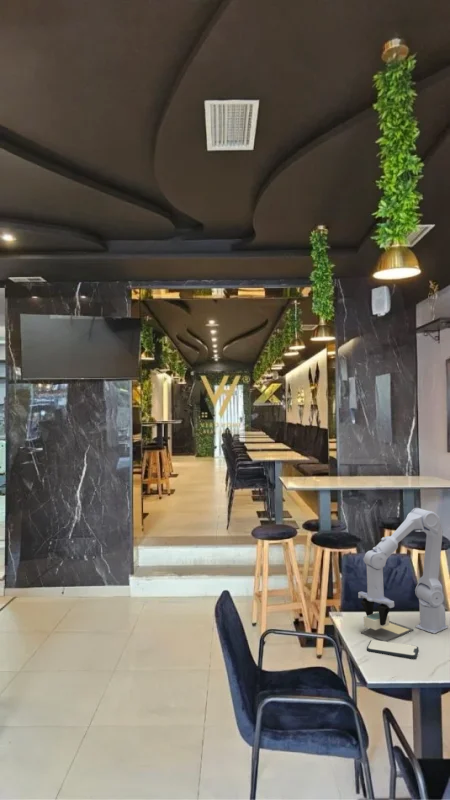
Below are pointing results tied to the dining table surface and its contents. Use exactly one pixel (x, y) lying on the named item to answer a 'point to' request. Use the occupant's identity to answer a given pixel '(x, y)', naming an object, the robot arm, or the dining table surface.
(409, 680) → the dining table surface
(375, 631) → the mat
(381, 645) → the phone case
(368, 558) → the robot arm
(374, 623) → the card box
